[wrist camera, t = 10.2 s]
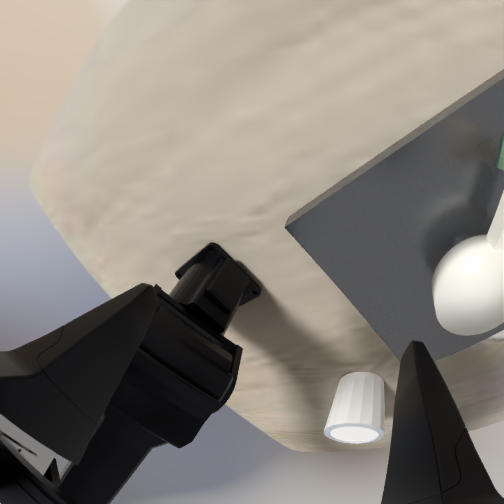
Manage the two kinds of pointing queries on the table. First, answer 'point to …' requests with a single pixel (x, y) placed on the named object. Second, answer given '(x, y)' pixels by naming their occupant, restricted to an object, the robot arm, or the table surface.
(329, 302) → the table surface
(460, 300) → the beige rounded piece
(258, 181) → the table surface
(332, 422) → the shot glass
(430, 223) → the base
